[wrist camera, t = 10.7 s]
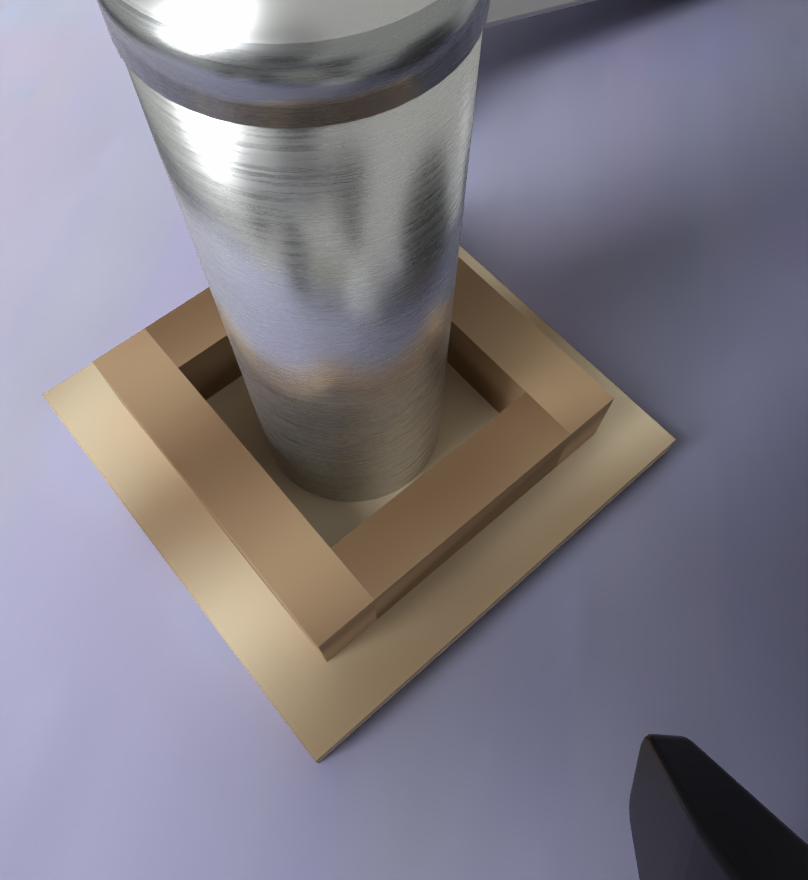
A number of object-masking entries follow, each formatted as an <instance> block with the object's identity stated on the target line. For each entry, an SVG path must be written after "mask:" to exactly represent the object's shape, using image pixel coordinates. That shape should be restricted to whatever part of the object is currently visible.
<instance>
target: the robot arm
mask: <svg viewBox="0 0 808 880" xmlns="http://www.w3.org/2000/svg"><path fill="white" fill-rule="evenodd" d="M629 815H630V824H631V831H632V837H633V843H634V849H635V855H636V861H637V867H638V873H639V879H640V880H808V845H807V844H806V843H805V842H804V841H803V840H802V839H801V838H799V837H798V836H797V835H796V834H795V833H794V832H793V831H792V830H791V829H789V828H788V827H787V826H786V825H785V824H784V823H783V822H782V821H780V820H779V819H778V818H777V817H776V816H775V815H774V814H773V813H772V812H770V811H769V810H768V809H767V808H766V807H765V806H764V805H763V804H762V803H760V802H759V801H758V800H757V799H756V798H755V797H754V796H753V795H751V794H750V793H749V792H748V791H747V790H746V789H745V788H744V787H743V786H741V785H740V784H739V783H738V782H737V781H736V780H735V779H734V778H732V777H731V776H730V775H729V774H728V773H727V772H726V771H725V770H724V769H722V768H721V767H720V766H719V765H718V764H717V763H716V762H715V761H713V760H712V759H711V758H710V757H709V756H708V755H707V754H706V753H705V752H703V751H702V750H701V749H700V748H699V747H698V746H697V745H696V744H695V743H693V742H692V741H691V740H689V739H688V738H686V737H682V736H673V735H660V734H649V735H648V736H646V737H645V738H644V740H643V741H642V743H641V747H640V751H639V756H638V761H637V766H636V770H635V775H634V780H633V785H632V790H631V794H630V803H629Z"/></svg>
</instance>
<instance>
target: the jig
mask: <svg viewBox="0 0 808 880" xmlns="http://www.w3.org/2000/svg"><path fill="white" fill-rule="evenodd" d="M42 396H43V397H44V398H45V400H46V401H47V402H48V404H49V405H50V406H51V408H52V409H53V410H54V412H55V413H56V414H57V416H58V417H59V418H60V420H61V421H62V422H63V424H64V425H65V426H66V428H67V429H68V430H69V432H70V433H71V434H72V436H73V437H74V439H75V440H76V441H77V443H78V444H79V445H80V447H81V448H82V449H83V451H84V452H85V453H86V455H87V456H88V457H89V459H90V460H91V461H92V463H93V464H94V465H95V467H96V468H97V469H98V471H99V472H100V473H101V475H102V476H103V477H104V479H105V480H106V481H107V483H108V484H109V485H110V487H111V488H112V489H113V491H114V492H115V494H116V495H117V496H118V498H119V499H120V500H121V502H122V503H123V504H124V506H125V507H126V508H127V510H128V511H129V512H130V514H131V515H132V516H133V518H134V519H135V520H136V522H137V523H138V524H139V526H140V527H141V528H142V530H143V531H144V532H145V534H146V535H147V536H148V538H149V539H150V540H151V542H152V543H153V545H154V546H155V547H156V549H157V550H158V551H159V553H160V554H161V555H162V557H163V558H164V559H165V561H166V562H167V563H168V565H169V566H170V567H171V569H172V570H173V571H174V573H175V574H176V575H177V577H178V578H179V579H180V581H181V582H182V583H183V585H184V586H185V587H186V589H187V590H188V591H189V593H190V594H191V596H192V597H193V598H194V600H195V601H196V602H197V604H198V605H199V606H200V608H201V609H202V610H203V612H204V613H205V614H206V616H207V617H208V618H209V620H210V621H211V622H212V624H213V625H214V626H215V628H216V629H217V630H218V632H219V633H220V634H221V636H222V637H223V638H224V640H225V641H226V642H227V644H228V645H229V647H230V648H231V649H232V651H233V652H234V653H235V655H236V656H237V657H238V659H239V660H240V661H241V663H242V664H243V665H244V667H245V668H246V669H247V671H248V672H249V673H250V675H251V676H252V677H253V679H254V680H255V681H256V683H257V684H258V685H259V687H260V688H261V689H262V691H263V692H264V693H265V695H266V696H267V697H268V699H269V700H270V702H271V703H272V704H273V706H274V707H275V708H276V710H277V711H278V712H279V714H280V715H281V716H282V718H283V719H284V720H285V722H286V723H287V724H288V726H289V727H290V728H291V730H292V731H293V732H294V734H295V735H296V736H297V738H298V739H299V740H300V742H301V743H302V744H303V746H304V747H305V748H306V750H307V751H308V753H309V754H310V755H311V757H312V758H313V759H314V761H315V762H317V763H320V762H321V761H322V760H323V759H324V758H325V757H326V756H327V755H328V754H330V753H331V752H332V751H333V750H334V749H335V748H336V747H337V746H339V745H340V744H341V743H342V742H343V741H344V740H345V739H346V738H347V737H349V736H350V735H351V734H352V733H353V732H354V731H355V730H356V729H357V728H359V727H360V726H361V725H362V724H363V723H364V722H365V721H366V720H368V719H369V718H370V717H371V716H372V715H373V714H374V713H375V712H376V711H378V710H379V709H380V708H381V707H382V706H383V705H384V704H385V703H387V702H388V701H389V700H390V699H391V698H392V697H393V696H394V695H395V694H397V693H398V692H399V691H400V690H401V689H402V688H403V687H404V686H405V685H407V684H408V683H409V682H410V681H411V680H412V679H413V678H414V677H416V676H417V675H418V674H419V673H420V672H421V671H422V670H423V669H424V668H426V667H427V666H428V665H429V664H430V663H431V662H432V661H433V660H435V659H436V658H437V657H438V656H439V655H440V654H441V653H442V652H443V651H445V650H446V649H447V648H448V647H449V646H450V645H451V644H452V643H453V642H455V641H456V640H457V639H458V638H459V637H460V636H461V635H462V634H464V633H465V632H466V631H467V630H468V629H469V628H470V627H471V626H472V625H474V624H475V623H476V622H477V621H478V620H479V619H480V618H481V617H483V616H484V615H485V614H486V613H487V612H488V611H489V610H490V609H491V608H493V607H494V606H495V605H496V604H497V603H498V602H499V601H500V600H501V599H503V598H504V597H505V596H506V595H507V594H508V593H509V592H510V591H512V590H513V589H514V588H515V587H516V586H517V585H518V584H519V583H520V582H522V581H523V580H524V579H525V578H526V577H527V576H528V575H529V574H530V573H532V572H533V571H534V570H535V569H536V568H537V567H538V566H539V565H541V564H542V563H543V562H544V561H545V560H546V559H547V558H548V557H549V556H551V555H552V554H553V553H554V552H555V551H556V550H557V549H558V548H560V547H561V546H562V545H563V544H564V543H565V542H566V541H567V540H568V539H570V538H571V537H572V536H573V535H574V534H575V533H576V532H577V531H578V530H580V529H581V528H582V527H583V526H584V525H585V524H586V523H587V522H589V521H590V520H591V519H592V518H593V517H594V516H595V515H596V514H597V513H599V512H600V511H601V510H602V509H603V508H604V507H605V506H606V505H608V504H609V503H610V502H611V501H612V500H613V499H614V498H615V497H616V496H618V495H619V494H620V493H621V492H622V491H623V490H624V489H625V488H626V487H628V486H629V485H630V484H631V483H632V482H633V481H634V480H635V479H637V478H638V477H639V476H640V475H641V474H642V473H643V472H644V471H645V470H647V469H648V468H649V467H650V466H651V465H652V464H653V463H654V462H656V461H657V460H658V459H659V458H660V457H661V456H662V455H663V454H664V453H666V452H667V450H668V449H669V448H670V446H671V445H672V444H673V443H674V441H675V440H676V439H675V438H674V437H672V436H671V435H670V434H669V433H668V432H667V431H666V430H665V429H664V428H662V427H661V426H660V425H659V424H658V423H657V422H656V421H655V420H654V419H652V418H651V417H650V416H649V415H648V414H647V413H646V412H645V411H644V410H642V409H641V408H640V407H639V406H638V405H637V404H636V403H635V402H633V401H632V400H631V399H630V398H629V397H628V396H627V395H626V394H625V393H623V392H622V391H621V390H620V389H619V388H618V387H617V386H616V385H615V384H613V383H612V382H611V381H610V380H609V379H608V378H607V377H606V376H605V375H603V374H602V373H601V372H600V371H599V370H598V369H597V368H596V367H595V366H593V365H592V364H591V363H590V362H589V361H588V360H587V359H586V358H585V357H583V356H582V355H581V354H580V353H579V352H578V351H577V350H576V349H574V348H573V347H572V346H571V345H570V344H569V343H568V342H567V341H566V340H564V339H563V338H562V337H561V336H560V335H559V334H558V333H557V332H556V331H554V330H553V329H552V328H551V327H550V326H549V325H548V324H547V323H546V322H544V321H543V320H542V319H541V318H540V317H539V316H538V315H537V314H536V313H534V312H533V311H532V310H531V309H530V308H529V307H528V306H527V305H525V304H524V303H523V302H522V301H521V300H520V299H519V298H518V297H517V296H515V295H514V294H513V293H512V292H511V291H510V290H509V289H508V288H507V287H505V286H504V285H503V284H502V283H501V282H500V281H499V280H498V279H497V278H495V277H494V276H493V275H492V274H491V273H490V272H489V271H488V270H487V269H485V268H484V267H483V266H482V265H481V264H480V263H479V262H478V261H477V260H475V259H474V258H473V257H472V256H471V255H470V254H469V253H468V252H466V251H465V250H464V249H463V248H462V247H461V246H460V245H459V253H458V262H457V272H456V281H455V290H454V299H453V308H452V318H451V327H450V336H449V345H448V354H447V363H446V373H445V382H444V391H443V400H442V409H441V419H440V428H439V434H438V440H437V443H436V446H435V449H434V451H433V453H432V455H431V457H430V459H429V461H428V462H427V464H426V465H425V467H424V468H423V469H422V470H421V471H420V472H419V474H418V475H417V476H416V477H415V478H414V479H412V480H411V481H410V482H409V483H408V484H406V485H405V486H403V487H402V488H400V489H398V490H397V491H395V492H392V493H390V494H388V495H386V496H383V497H380V498H377V499H373V500H368V501H361V502H340V501H334V500H328V499H325V498H322V497H319V496H316V495H314V494H312V493H309V492H307V491H306V490H304V489H302V488H301V487H299V486H298V485H296V484H295V483H294V482H293V481H292V480H290V479H289V478H288V477H287V476H286V475H285V473H284V472H283V471H282V470H281V469H280V467H279V466H278V464H277V463H276V461H275V459H274V457H273V455H272V453H271V450H270V448H269V445H268V442H267V440H266V437H265V434H264V432H263V429H262V426H261V424H260V421H259V418H258V416H257V413H256V410H255V408H254V405H253V402H252V400H251V397H250V394H249V392H248V389H247V386H246V384H245V381H244V378H243V376H242V373H241V370H240V368H239V365H238V362H237V360H236V357H235V354H234V352H233V349H232V346H231V344H230V341H229V338H228V336H227V333H226V330H225V328H224V325H223V322H222V320H221V317H220V314H219V312H218V309H217V306H216V304H215V301H214V298H213V296H212V293H211V290H210V288H207V289H205V290H204V291H202V292H201V293H199V294H198V295H196V296H195V297H193V298H191V299H190V300H188V301H187V302H185V303H184V304H182V305H180V306H179V307H177V308H176V309H174V310H173V311H171V312H170V313H168V314H166V315H165V316H163V317H162V318H160V319H159V320H157V321H155V322H154V323H152V324H151V325H149V326H148V327H146V328H145V329H143V330H141V331H140V332H138V333H137V334H135V335H134V336H132V337H130V338H129V339H127V340H126V341H124V342H123V343H121V344H120V345H118V346H116V347H115V348H113V349H112V350H110V351H109V352H107V353H105V354H104V355H102V356H101V357H99V358H98V359H96V360H95V361H93V363H91V364H90V365H88V366H87V367H85V368H83V369H82V370H80V371H79V372H77V373H76V374H74V375H73V376H71V377H69V378H68V379H66V380H65V381H63V382H62V383H60V384H58V385H57V386H55V387H54V388H52V389H51V390H49V391H48V392H46V393H44V394H43V395H42Z"/></svg>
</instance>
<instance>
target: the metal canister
mask: <svg viewBox="0 0 808 880" xmlns="http://www.w3.org/2000/svg"><path fill="white" fill-rule="evenodd" d="M97 2H98V4H99V7H100V10H101V12H102V15H103V18H104V20H105V23H106V25H107V28H108V31H109V33H110V36H111V39H112V41H113V43H114V45H115V47H116V49H117V51H118V53H119V55H120V56H121V58H122V59H123V60H124V62H125V64H126V66H127V69H128V72H129V74H130V77H131V80H132V82H133V85H134V88H135V90H136V93H137V96H138V98H139V101H140V104H141V106H142V109H143V112H144V114H145V117H146V120H147V122H148V125H149V128H150V130H151V133H152V136H153V138H154V141H155V144H156V146H157V149H158V152H159V154H160V157H161V160H162V162H163V165H164V168H165V170H166V173H167V176H168V178H169V181H170V184H171V186H172V189H173V192H174V194H175V197H176V200H177V202H178V205H179V208H180V210H181V213H182V216H183V218H184V221H185V224H186V226H187V229H188V232H189V234H190V237H191V240H192V242H193V245H194V248H195V250H196V253H197V256H198V258H199V261H200V264H201V266H202V269H203V272H204V274H205V277H206V280H207V282H208V285H209V288H210V290H211V293H212V296H213V298H214V301H215V304H216V306H217V309H218V312H219V314H220V317H221V320H222V322H223V325H224V328H225V330H226V333H227V336H228V338H229V341H230V344H231V346H232V349H233V352H234V354H235V357H236V360H237V362H238V365H239V368H240V370H241V373H242V376H243V378H244V381H245V384H246V386H247V389H248V392H249V394H250V397H251V400H252V402H253V405H254V408H255V410H256V413H257V416H258V418H259V421H260V424H261V426H262V429H263V432H264V434H265V437H266V440H267V442H268V445H269V448H270V450H271V453H272V455H273V457H274V459H275V461H276V463H277V464H278V466H279V467H280V469H281V470H282V471H283V472H284V473H285V475H286V476H287V477H288V478H289V479H290V480H292V481H293V482H294V483H295V484H296V485H298V486H299V487H301V488H302V489H304V490H306V491H307V492H309V493H312V494H314V495H316V496H319V497H322V498H325V499H328V500H334V501H340V502H361V501H368V500H373V499H377V498H380V497H383V496H386V495H388V494H390V493H392V492H395V491H397V490H398V489H400V488H402V487H403V486H405V485H406V484H408V483H409V482H410V481H411V480H412V479H414V478H415V477H416V476H417V475H418V474H419V472H420V471H421V470H422V469H423V468H424V467H425V465H426V464H427V462H428V461H429V459H430V457H431V455H432V453H433V451H434V449H435V446H436V443H437V440H438V434H439V428H440V419H441V409H442V400H443V391H444V382H445V373H446V363H447V354H448V345H449V336H450V327H451V318H452V308H453V299H454V290H455V281H456V272H457V262H458V253H459V244H460V235H461V226H462V216H463V207H464V198H465V189H466V180H467V171H468V161H469V152H470V143H471V134H472V125H473V115H474V106H475V97H476V88H477V79H478V70H479V60H480V51H481V42H482V33H483V28H484V26H485V23H486V21H487V16H488V11H489V6H490V0H97Z"/></svg>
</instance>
